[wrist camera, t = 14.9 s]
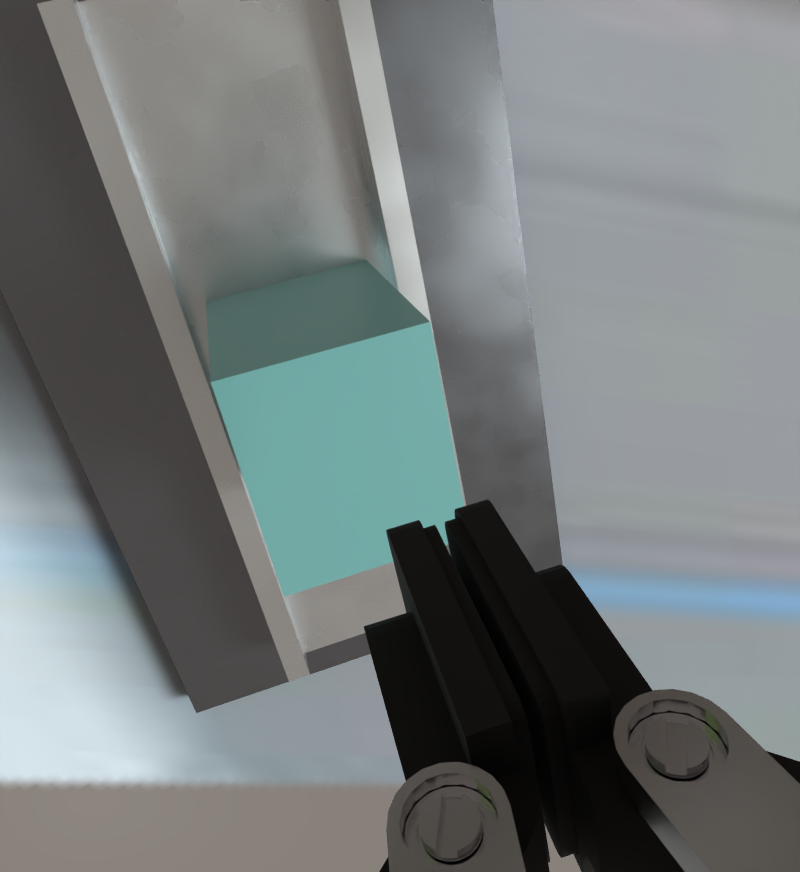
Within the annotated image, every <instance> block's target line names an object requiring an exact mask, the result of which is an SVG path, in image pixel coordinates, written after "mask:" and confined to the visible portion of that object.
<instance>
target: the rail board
mask: <svg viewBox="0 0 800 872" xmlns="http://www.w3.org/2000/svg"><path fill="white" fill-rule="evenodd" d="M363 260H367V261H368V262H369V263H370V264H371V265H372V266H373V267H374V268H375V269H376V270H377V271H378V272H379V273H380V274H381V275H382V276H383V277H384V278H385V279H386V280H388V281H389V282H390V283H391V284H392V285H393V286H394V287H395V288H396V289H397V290H398V291H399V292H400V293H401V294H402V295H403V296H404V297H405V298H406V299H407V300H408V301H409V302H410V303H411V304H412V305H413V306H414V307H415V308H416V309H417V310H418V311H420V312H421V313H422V314H423V315H424V316H425V317H426V318H427V319H428V320H429V321H430V324H431V329H432V335H433V340H434V346H435V351H436V356H437V362H438V367H439V373H440V378H441V383H442V389H443V394H444V400H445V405H446V411H447V416H448V421H449V427H450V432H451V438H452V443H453V448H454V454H455V459H456V465H457V470H458V475H459V481H460V486H461V492H462V497H463V503H464V506H467V505H470V504H473V503H477V502H480V501H483V500H486V499H488V500H490V502H491V503H492V504H493V506H494V507H495V509H496V511H497V512H498V514H499V515H500V517H501V519H502V520H503V522H504V523H505V525H506V526H507V528H508V530H509V531H510V533H511V534H512V536H513V537H514V539H515V541H516V542H517V544H518V545H519V547H520V549H521V550H522V552H523V553H524V555H525V556H526V558H527V560H528V561H529V563H530V564H531V566H532V567H533V569H534V571H535V572H538V571H541V570H544V569H547V568H551V567H554V566H557V565H560V564H561V565H562V557H561V548H560V540H559V532H558V524H557V516H556V508H555V500H554V492H553V484H552V476H551V468H550V460H549V452H548V444H547V436H546V428H545V420H544V411H543V403H542V395H541V387H540V379H539V371H538V363H537V355H536V347H535V339H534V331H533V323H532V315H531V307H530V299H529V291H528V282H527V274H526V266H525V258H524V250H523V242H522V234H521V226H520V218H519V210H518V202H517V194H516V186H515V178H514V170H513V162H512V154H511V145H510V137H509V129H508V121H507V113H506V105H505V97H504V89H503V81H502V73H501V65H500V57H499V49H498V41H497V33H496V25H495V17H494V8H493V0H0V291H1V293H2V295H3V297H4V299H5V302H6V304H7V306H8V308H9V310H10V312H11V314H12V317H13V319H14V321H15V323H16V325H17V327H18V330H19V332H20V334H21V336H22V338H23V340H24V342H25V345H26V347H27V349H28V351H29V353H30V355H31V358H32V360H33V362H34V364H35V366H36V368H37V370H38V373H39V375H40V377H41V379H42V381H43V383H44V386H45V388H46V390H47V392H48V394H49V396H50V398H51V401H52V403H53V405H54V407H55V409H56V411H57V414H58V416H59V418H60V420H61V422H62V424H63V426H64V429H65V431H66V433H67V435H68V437H69V439H70V442H71V444H72V446H73V448H74V450H75V452H76V454H77V457H78V459H79V461H80V463H81V465H82V467H83V470H84V472H85V474H86V476H87V478H88V480H89V482H90V485H91V487H92V489H93V491H94V493H95V495H96V498H97V500H98V502H99V504H100V506H101V508H102V510H103V513H104V515H105V517H106V519H107V521H108V523H109V526H110V528H111V530H112V532H113V534H114V536H115V538H116V541H117V543H118V545H119V547H120V549H121V551H122V554H123V556H124V558H125V560H126V562H127V564H128V566H129V569H130V571H131V573H132V575H133V577H134V579H135V582H136V584H137V586H138V588H139V590H140V592H141V594H142V597H143V599H144V601H145V603H146V605H147V607H148V610H149V612H150V614H151V616H152V618H153V620H154V622H155V625H156V627H157V629H158V631H159V633H160V635H161V638H162V640H163V642H164V644H165V646H166V648H167V650H168V653H169V655H170V657H171V659H172V661H173V663H174V666H175V668H176V670H177V672H178V674H179V676H180V678H181V681H182V683H183V685H184V687H185V689H186V691H187V694H188V696H189V698H190V700H191V702H192V704H193V706H194V709H195V711H196V713H198V712H201V711H204V710H207V709H209V708H212V707H215V706H218V705H221V704H224V703H227V702H230V701H233V700H236V699H239V698H242V697H245V696H248V695H251V694H254V693H256V692H259V691H262V690H265V689H268V688H271V687H274V686H277V685H280V684H283V683H286V682H290V681H292V680H295V679H298V678H301V677H304V676H307V675H310V674H312V673H315V672H318V671H321V670H324V669H327V668H330V667H333V666H336V665H339V664H342V663H345V662H348V661H350V660H353V659H356V658H359V657H362V656H365V655H368V654H371V652H370V649H369V645H368V641H367V638H366V634H365V630H364V626H367V625H370V624H373V623H376V622H379V621H382V620H386V619H389V618H392V617H395V616H398V615H401V614H405V613H406V610H405V606H404V602H403V598H402V594H401V590H400V586H399V582H398V578H397V574H396V570H395V566H394V562H392V563H388V564H385V565H382V566H379V567H376V568H373V569H370V570H367V571H363V572H360V573H357V574H354V575H351V576H348V577H345V578H341V579H338V580H335V581H332V582H329V583H326V584H323V585H320V586H316V587H313V588H310V589H307V590H304V591H301V592H298V593H294V594H291V595H288V596H285V597H284V595H283V592H282V589H281V586H280V584H279V581H278V578H277V575H276V572H275V569H274V566H273V563H272V560H271V557H270V554H269V551H268V548H267V546H266V543H265V540H264V537H263V534H262V531H261V528H260V525H259V522H258V519H257V516H256V513H255V510H254V508H253V505H252V502H251V499H250V496H249V493H248V490H247V487H246V484H245V481H244V478H243V475H242V472H241V470H240V467H239V464H238V461H237V458H236V455H235V452H234V449H233V446H232V443H231V440H230V437H229V434H228V432H227V429H226V426H225V423H224V420H223V417H222V414H221V411H220V408H219V405H218V402H217V399H216V396H215V394H214V391H213V388H212V385H211V380H210V364H209V347H208V330H207V314H206V301H210V300H213V299H217V298H221V297H225V296H229V295H233V294H236V293H240V292H244V291H248V290H252V289H256V288H260V287H263V286H267V285H271V284H275V283H279V282H283V281H286V280H290V279H294V278H298V277H302V276H306V275H309V274H313V273H317V272H321V271H325V270H329V269H333V268H336V267H340V266H344V265H348V264H352V263H356V262H359V261H363ZM445 546H446V548H447V550H448V552H449V554H450V550H449V545H445ZM450 556H451V555H450Z"/></svg>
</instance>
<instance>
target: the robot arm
mask: <svg viewBox="0 0 800 872" xmlns="http://www.w3.org/2000/svg"><path fill="white" fill-rule="evenodd" d="M445 530H446V535H447V540H448V545H449V550H450V554H449V552H448V550H447V548H446V546H445V543H444V541H443V539H442V537H441V535H440V533H439V531H438V529H437V527H436V526H435V525H432V526H429V527H426V528H423V526H422V524H421V522H420V520H417V521H413V522H410V523H407V524H404V525H400V526H397V527H394V528H390V529H387V530H386V533H387V538H388V542H389V546H390V550H391V554H392V558H393V562H394V566H395V570H396V574H397V578H398V582H399V586H400V590H401V594H402V598H403V602H404V606H405V610H406V613H405V614H401V615H398V616H395V617H392V618H389V619H386V620H382V621H379V622H376V623H373V624H370V625H367V626H364V630H365V634H366V638H367V641H368V645H369V649H370V652H371V656H372V659H373V663H374V667H375V670H376V674H377V678H378V681H379V685H380V688H381V692H382V696H383V699H384V703H385V707H386V710H387V714H388V718H389V721H390V725H391V728H392V732H393V736H394V739H395V743H396V747H397V750H398V754H399V757H400V761H401V765H402V768H403V772H404V776H405V779H406V782H405V783H404V784H403V785H402V787H401V788H400V789H399V790H398V792H397V793H396V794H395V796H394V799H393V801H392V804H391V806H390V808H389V811H388V818H387V819H388V820H387V843H388V858H387V860H386V862H385V863H384V865H383V867H382V868H381V870H380V872H549V867H548V862H550V857H549V851H548V844H547V838H546V831H545V825H546V827H547V830H548V832H549V834H550V836H551V839H552V841H553V843H554V846H555V848H556V850H557V852H558V854H559V855H560V857H565V856H568V855H570V854H574V856H575V858H576V860H577V863H578V865H579V867H580V869H581V871H582V872H800V762H799V761H796V760H793V759H789V758H786V757H783V756H780V755H777V754H774V753H771V752H767V751H765V750H764V749H763V748H762V747H761V746H760V745H759V744H758V743H757V742H756V741H755V740H754V739H753V738H752V737H751V736H750V735H749V734H748V733H747V732H746V731H745V730H744V729H743V728H742V727H741V726H740V725H739V724H738V723H737V722H736V721H734V720H733V719H732V718H731V717H730V716H729V715H728V714H727V713H726V712H725V711H724V710H722V709H721V708H720V707H718V706H717V705H716V704H714V703H713V702H712V701H710V700H708V699H706V698H703V697H701V696H699V695H696V694H694V693H692V692H686V691H680V690H675V689H667V690H653V691H652V689H651V688H650V686H649V685H648V683H647V682H646V681H645V679H644V678H643V676H642V675H641V673H640V672H639V671H638V669H637V668H636V666H635V665H634V663H633V662H632V660H631V659H630V658H629V656H628V655H627V653H626V652H625V650H624V649H623V648H622V646H621V645H620V643H619V642H618V640H617V639H616V638H615V636H614V635H613V633H612V632H611V630H610V629H609V628H608V626H607V625H606V623H605V622H604V620H603V619H602V618H601V616H600V615H599V613H598V612H597V610H596V609H595V608H594V606H593V605H592V603H591V602H590V600H589V599H588V598H587V596H586V595H585V593H584V592H583V590H582V589H581V588H580V586H579V585H578V583H577V582H576V580H575V579H574V578H573V576H572V575H571V573H570V572H569V571H568V570H567V569H566V567H565V566H563V565H561V564H560V565H557V566H554V567H551V568H547V569H544V570H541V571H538V572H535V571H534V569H533V567H532V566H531V564H530V563H529V561H528V560H527V558H526V556H525V555H524V553H523V552H522V550H521V549H520V547H519V545H518V544H517V542H516V541H515V539H514V537H513V536H512V534H511V533H510V531H509V530H508V528H507V526H506V525H505V523H504V522H503V520H502V519H501V517H500V515H499V514H498V512H497V511H496V509H495V507H494V506H493V504H492V503H491V502H490V500H488V499H486V500H483V501H480V502H477V503H473V504H470V505H467V506H463V507H460V508H457V509H455V519H452V520H449V521H446V522H445ZM450 555H451V556H450ZM544 823H545V825H544Z"/></svg>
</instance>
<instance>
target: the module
mask: <svg viewBox="0 0 800 872" xmlns="http://www.w3.org/2000/svg"><path fill="white" fill-rule="evenodd" d="M206 314H207V330H208V347H209V364H210V380H211V385H212V388H213V391H214V394H215V396H216V399H217V402H218V405H219V408H220V411H221V414H222V417H223V420H224V423H225V426H226V429H227V432H228V434H229V437H230V440H231V443H232V446H233V449H234V452H235V455H236V458H237V461H238V464H239V467H240V470H241V472H242V475H243V478H244V481H245V484H246V487H247V490H248V493H249V496H250V499H251V502H252V505H253V508H254V510H255V513H256V516H257V519H258V522H259V525H260V528H261V531H262V534H263V537H264V540H265V543H266V546H267V548H268V551H269V554H270V557H271V560H272V563H273V566H274V569H275V572H276V575H277V578H278V581H279V584H280V586H281V589H282V592H283V595H284V597H285V596H288V595H291V594H294V593H298V592H301V591H304V590H307V589H310V588H313V587H316V586H320V585H323V584H326V583H329V582H332V581H335V580H338V579H341V578H345V577H348V576H351V575H354V574H357V573H360V572H363V571H367V570H370V569H373V568H376V567H379V566H382V565H385V564H388V563H392V562H393V558H392V554H391V550H390V546H389V542H388V538H387V533H386V530H387V529H390V528H394V527H397V526H400V525H404V524H407V523H410V522H413V521H417V520H420V522H421V524H422V526H423V528H426V527H429V526H432V525H435V526H436V527H437V529H438V531H439V533H440V535H441V537H442V539H443V541H444V543H445V545H448V540H447V535H446V530H445V522H446V521H449V520H452V519H455V509H457V508H460V507H463V506H464V503H463V497H462V492H461V486H460V481H459V475H458V470H457V465H456V459H455V454H454V448H453V443H452V438H451V432H450V427H449V421H448V416H447V411H446V405H445V400H444V394H443V389H442V383H441V378H440V373H439V367H438V362H437V356H436V351H435V346H434V340H433V335H432V329H431V324H430V321H429V320H428V319H427V318H426V317H425V316H424V315H423V314H422V313H421V312H420V311H418V310H417V309H416V308H415V307H414V306H413V305H412V304H411V303H410V302H409V301H408V300H407V299H406V298H405V297H404V296H403V295H402V294H401V293H400V292H399V291H398V290H397V289H396V288H395V287H394V286H393V285H392V284H391V283H390V282H389V281H388V280H386V279H385V278H384V277H383V276H382V275H381V274H380V273H379V272H378V271H377V270H376V269H375V268H374V267H373V266H372V265H371V264H370V263H369V262H368V261H367V260H363V261H359V262H356V263H352V264H348V265H344V266H340V267H336V268H333V269H329V270H325V271H321V272H317V273H313V274H309V275H306V276H302V277H298V278H294V279H290V280H286V281H283V282H279V283H275V284H271V285H267V286H263V287H260V288H256V289H252V290H248V291H244V292H240V293H236V294H233V295H229V296H225V297H221V298H217V299H213V300H210V301H206Z"/></svg>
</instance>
